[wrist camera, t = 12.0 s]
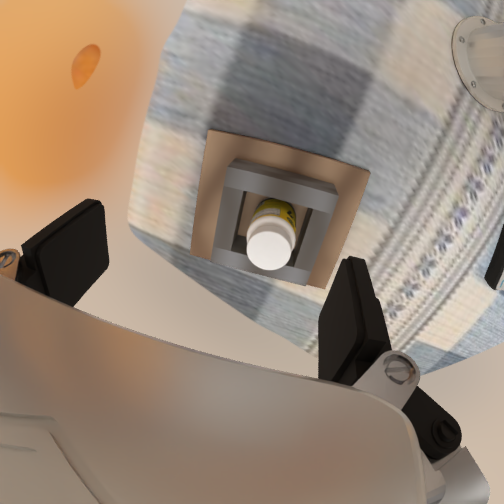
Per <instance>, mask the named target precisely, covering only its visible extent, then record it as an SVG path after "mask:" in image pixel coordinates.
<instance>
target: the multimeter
mask: <svg viewBox="0 0 504 504" xmlns="http://www.w3.org/2000/svg"><path fill="white" fill-rule="evenodd" d="M485 280H486V282H487V283H488V285H489V286H490V287H491V288H492V289H493V290H504V225H503V228H502V231H501V234H500V237H499V240H498V243H497V246H496V249H495V251H494V254H493V257H492V259H491V262H490V265H489V267H488V270H487V272H486V274H485Z"/></svg>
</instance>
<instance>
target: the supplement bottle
mask: <svg viewBox="0 0 504 504" xmlns="http://www.w3.org/2000/svg"><path fill="white" fill-rule="evenodd" d="M295 241H296V213H295V210H294V208H293V206H292V205H291V204H290V203H289V202H286V201H283V200H279V199H275V198H271V197H269V198H266V199H264V200H263V201H261V202H260V203H259V204H258V205H257V207H256V209H255V212H254V214H253V217H252V220H251V223H250V226H249V228H248V231H247V255H248V257H249V259H250V261H251V262H252V263H253V264H254V265H256V266H257V267H259V268H261V269H264V270H276V269H279V268H281V267H283V266H284V265H285V264H286V263H287V262H288V261H289V259H290V256H291V252H292V250H293V248H294V246H295Z"/></svg>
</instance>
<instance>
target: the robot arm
mask: <svg viewBox="0 0 504 504" xmlns="http://www.w3.org/2000/svg"><path fill="white" fill-rule="evenodd" d="M452 49H453V56H454V60H455V64H456V68H457V70H458V72H459V75H460V77H461V79H462V81H463V83H464V85H465V86H466V88H467V89H468V90H469V92H470V93H471V94H472V95H473V97H474V98H475V99H476V100H477V101H478V102H480V103H481V104H482V105H483V106H485V107H487V108H489V109H490V110H494V111H497V112H504V22H503V23H498V24H497V23H495V22H494V21H492V20H490V19H488V18H486V17H481V16H472V17H468V18H466V19H464V20H462V21H461V22H460V23H459V24H458V25H457V27H456V29H455V31H454V35H453V40H452ZM21 247H22V251H23V255H22V256H21V257H20V253H19V252H18V250H16V249H5V250H2V251H0V504H487V502H488V500H489V496H490V487H489V484H488V482H487V481H486V479H485V477H484V475H483V474H482V472H481V470H480V469H479V467H478V465H477V464H476V462H475V460H474V459H473V457H472V456H471V454H470V453H469V451H468V449H467V448H466V446H465V447H464V448H461V446H460V443H461V437H462V433H461V429H460V426H459V424H458V422H457V421H456V420H455V419H454V418H453V417H452V416H451V415H450V414H449V413H447V412H446V411H445V410H444V409H443V408H442V407H441V406H440V405H438V404H437V403H436V402H435V401H434V400H433V399H432V398H431V397H429V396H428V395H427V394H426V393H425V392H424V391H423V390H421V389H420V388H419V387H418V386H417V385H418V383H419V380H420V371H419V368H418V366H417V364H416V363H415V361H414V360H413V359H412V358H411V357H409V356H408V355H406V354H405V353H403V352H399V351H393V350H392V348H391V344H390V340H389V335H388V331H387V327H386V323H385V319H384V316H383V312H382V308H381V304H380V301H379V299H377V298H376V297H375V293H374V289H373V286H372V282H371V279H370V275H369V272H368V269H367V265H366V262H365V260H364V259H361V258H357V257H353V256H349V257H348V258H347V259H342V261H341V264H340V266H339V269H338V271H337V274H336V276H335V279H334V281H333V284H332V286H331V289H330V291H329V294H328V296H327V299H326V301H325V303H324V306H323V308H322V310H321V313H320V316H319V321H318V339H319V363H318V366H319V367H318V368H319V369H318V370H319V371H318V372H319V373H318V379H317V378H312V377H307V376H303V375H297V374H293V373H288V372H283V371H278V370H274V369H269V368H264V367H260V366H256V365H252V364H247V363H243V362H239V361H235V360H231V359H227V358H223V357H219V356H215V355H212V354H208V353H204V352H201V351H197V350H194V349H190V348H187V347H184V346H180V345H177V344H173V343H170V342H167V341H164V340H160V339H158V338H155V337H152V336H148V335H146V334H142V333H140V332H137V331H134V330H131V329H128V328H125V327H123V326H120V325H117V324H114V323H112V322H109V321H106V320H104V319H101V318H99V317H96V316H94V315H91V314H89V313H86V312H83V311H81V310H79V309H76V308H74V305H75V304H76V303H77V302H78V301H79V300H80V298H81V297H82V296H83V295H84V294H85V292H86V291H87V290H88V289H89V288H90V287H91V286H92V284H93V283H95V281H96V280H97V279H98V278H99V277H100V276H101V275H102V274H103V273H104V271H105V270H106V269H107V268H108V266H109V255H108V246H107V235H106V225H105V211H104V206H103V205H102V203H101V202H100V201H98V200H94V199H86V200H84V201H83V202H81V203H79V204H78V205H76V206H75V207H73V208H72V209H70V210H69V211H67V212H66V213H64V214H63V215H62V216H60V217H59V218H57V219H56V220H54V221H53V222H52V223H50V224H49V225H47V226H46V227H45V228H43V229H42V230H41V231H39V232H38V233H36V234H35V235H34V236H33V237H31V238H30V239H29V240H27V241H26V242H25V243H23V244H22V245H21Z"/></svg>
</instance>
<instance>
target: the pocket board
mask: <svg viewBox="0 0 504 504" xmlns="http://www.w3.org/2000/svg"><path fill="white" fill-rule="evenodd" d="M369 176H370V172H369V171H368V170H365V169H362V168H359V167H356V166H353V165H350V164H347V163H344V162H341V161H338V160H334V159H331V158H328V157H325V156H321V155H318V154H315V153H311V152H308V151H304V150H300V149H297V148H293V147H289V146H285V145H281V144H277V143H273V142H269V141H265V140H261V139H257V138H252V137H248V136H243V135H238V134H234V133H229V132H224V131H219V130H213V129H210V130H208V134H207V140H206V146H205V151H204V157H203V163H202V170H201V176H200V182H199V189H198V196H197V203H196V210H195V217H194V225H193V233H192V241H191V249H190V255H194V256H198V257H201V258H205V259H209V260H211V261H210V262H213V263H217V264H221V265H225V266H229V267H232V268H236V269H240V270H244V271H248V272H252V273H255V274H259V275H263V276H267V277H271V278H275V279H279V280H283V281H287V282H291V283H295V284H299V285H303V286H306V285H310V286H314V287H318V288H322V289H325V287H326V285H327V283H328V281H329V278H330V276H331V274H332V271H333V269H334V267H335V264H336V262H337V260H338V257H339V255H340V252H341V250H342V248H343V245H344V243H345V240H346V238H347V235H348V233H349V230H350V227H351V225H352V222H353V220H354V217H355V214H356V212H357V209H358V206H359V204H360V201H361V198H362V196H363V193H364V190H365V187H366V184H367V182H368V179H369ZM269 197H271V198H275V199H279V200H283V201H286V202H289V203H290V204H291V205H292V206H293V208H294V210H295V213H296V241H295V246H294V248H293V250H292V252H291V256H290V259H289V261H288V262H287V263H286V264H285V265H284V266H283V267H281V268H279V269H276V270H264V269H261V268H259V267H257V266H256V265H254V264H253V263H252V262H251V261H250V259H249V257H248V255H247V231H248V228H249V226H250V223H251V220H252V217H253V214H254V212H255V209H256V207H257V205H258V204H259V203H260V202H261V201H263V200H264V199H266V198H269Z"/></svg>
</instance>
